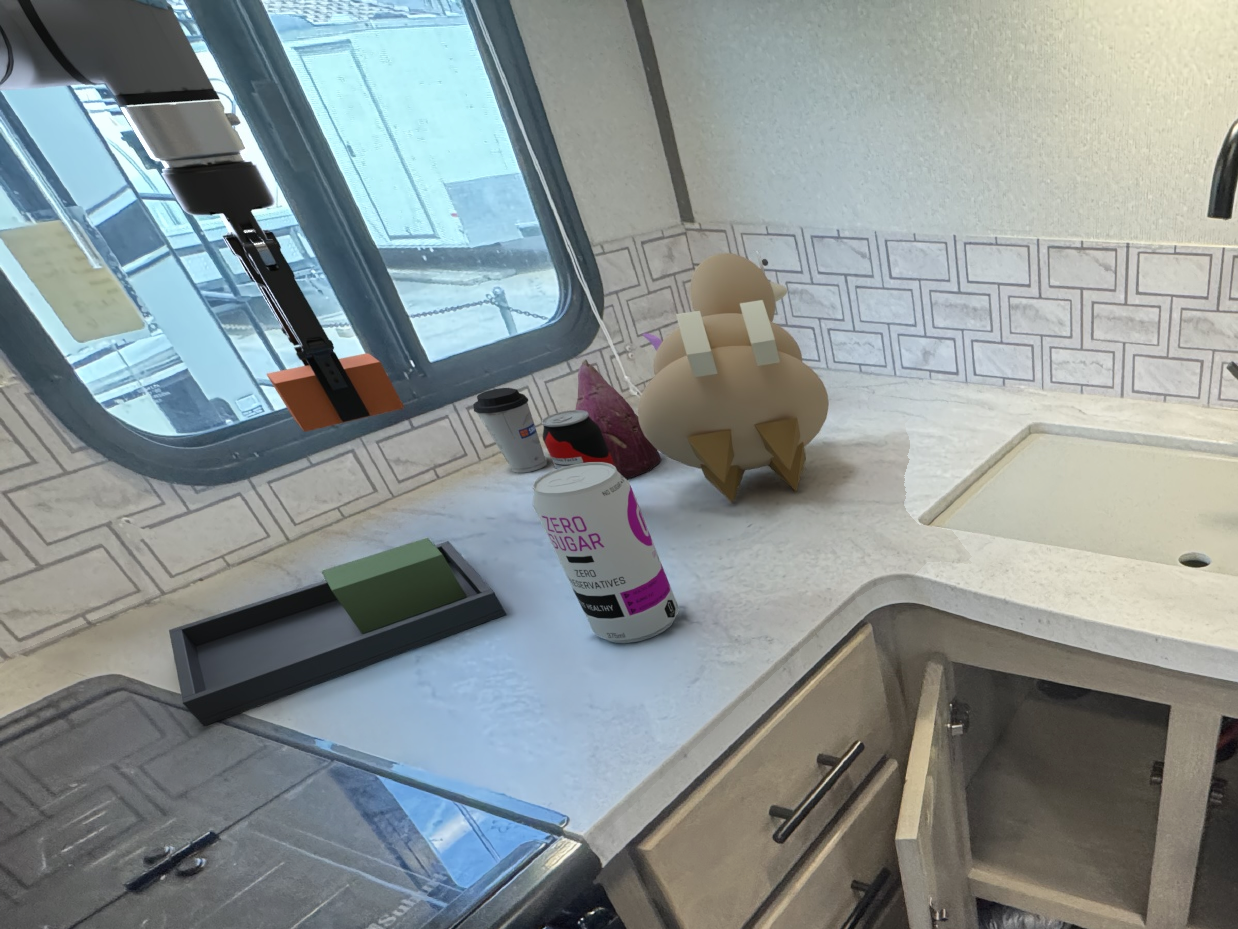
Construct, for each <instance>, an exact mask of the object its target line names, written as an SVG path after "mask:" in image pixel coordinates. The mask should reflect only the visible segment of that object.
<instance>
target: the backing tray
mask: <svg viewBox="0 0 1238 929" xmlns="http://www.w3.org/2000/svg"><path fill="white" fill-rule="evenodd" d="M434 545H435V546H436V547H437V549H438V550H439V551H440V552H441V553H442V555H443V556H444V558H445V560H446V561H447V563H448V565H449V567H450V568H451V570H452V572H453V573H454V575H455V577H456V579H457V580H458V582H459V584H460V586H461V587H462V589H463V591H464V593H465V594H466V596H467V597H466V598H464V599H461V600H458V601H455V602H452V603H449V604H447V605H444V606H441V607H438V608H435V609H432V610H429V611H427V612H424V613H421V614H418V615H415V616H412V617H410V618H407V619H404V620H401V621H398V622H395V623H393V624H390V625H387V626H384V627H381V628H378V629H376V630H373V631H370V632H367V633H364V634H362V633H361V632H360V631H359V629H358V628H357V626H356V625H355V623H354V622H353V621H352V619H351V618H350V616H349V615H348V613H347V612H346V610H345V609H344V608H343V606H342V605H341V603H340V602H339V600H338V599H337V597H336V596H335V595H334V593H333V592H332V590H331V588H330V587H329V585H328V583H327V581H326V579H324V580H320V581H318V582H315V583H312V584H308V585H306V586H302V587H299V588H296V589H293V590H290V591H286V592H284V593H280V594H277V595H274V596H271V597H267V598H264V599H261V600H258V601H255V602H251V603H249V604H245V605H243V606H240V607H236V608H233V609H230V610H227V611H224V612H221V613H218V614H215V615H211V616H208V617H205V618H202V619H199V620H195V621H193V622H189V623H186V624H182V625H180V626H176V627H173V628H171V629H168V633H169V638H170V643H171V648H172V653H173V659H174V664H175V669H176V670H175V671H176V674H177V679H178V680H177V681H178V685H179V691H180V696H181V703H182V704H183V706H184V707H185V708H186V709H187V710H188V711H189V713H191V714H192V715H193V716H194V717H195V719H196V720H197V721H198V722H199V723H200V724H201V725H202V726H203V727H205V726H209V725H211V724H213V723H216V722H219V721H221V720H225V719H227V718H231V717H233V716H236V715H239V714H241V713H243V712H247V711H249V710H252V709H255V708H256V707H260V706H262V705H265V704H268V703H270V702H273V701H276V700H278V699H281V698H284V697H287V696H290V695H293V694H295V693H298V692H300V691H303V690H305V689H308V688H312V687H314V686H317V685H320V684H322V683H325V682H328V681H331V680H333V679H335V678H338V677H341V676H344V675H346V674H348V673H351V672H354V671H357V670H361V669H362V668H365V667H368V666H371V665H373V664H376V663H378V662H382V661H384V660H387V659H390V658H392V657H396V656H397V655H400V654H403V653H407V652H409V651H411V650H414V649H418V648H419V647H423V646H425V645H427V644H431V643H433V642H436V641H438V640H439V641H440V640H441V639H444V638H446V637H450V636H452V635H455V634H457V633H460V632H463V631H466V630H468V629H471V628H473V627H476V626H479V625H482V624H484V623H487V622H490V621H493V620H495V619H498V618H501V617H504V616H506V615H507V612H506V611H505V609H504V607H503V605H502V604H501V602H500V600H499V598H498V597H497V595H496V592H495V591H494V590H493V589H492V587H490V586H489V584H488V583H487V582H486V581H485V580H484V579H483V577H481V575H479V573H478V572H477V571H476V570H475V569H474V568H473V567H472V565H470V563H469V562H468V561H467V560H466V559H465V558H464V556H463V555H462V554H461V553H460V552H459V551H458V550H457V549H456V547H455V546H453V545H452V543H451V542H450V541H449V540H447V541H443V542H441V543H437V544H434Z"/></svg>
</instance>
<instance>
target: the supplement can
mask: <svg viewBox="0 0 1238 929" xmlns="http://www.w3.org/2000/svg"><path fill="white" fill-rule="evenodd" d="M532 490H533V500H532V507H533V510H534V512H535V514H536V516H537V518H538V519H539V522H540V524H541V526H542V528H543V530H544V532H545V534H546V536H547V539H548V541H549V543H550V545H551V546H552V549H553V551H554V553H555V555H556V557H557V559H558V561H559V564H560V566H561V568H562V569H563V572H564V574H565V576H566V578H567V580H568V582H569V584H570V586H571V588H572V590H573V593H574V594H575V597H576V598H577V601H578V603H579V604H580V608H581V609H582V612H583V613H584V616H585V618H586V619H587V622H588V624H589V626H590V629H591V630H592V632H593V633H594V634H595V636H597V637H598V638H601V639H605V640H606V641H608V642H611V643H615V644H630V643H636V642H637V643H638V642H642V641H645V640H648V639H651V638H653V637H655V636H657V635H659V634H662V633H664V632H665V631H666V630H667V629H669V628H670V627H671V626H672V625H673V623H674V622H675V620H676V617H677V616H678V614H679V612H680V611H679V605H678V603H677V600H676V597H675V594H674V592H673V590H672V587H671V584H670V582H669V579H668V576H667V574H666V572H665V570H664V566H663V564H662V561H661V559H660V557H659V554H658V551H657V549H656V546H655V543H654V542H653V539H652V536H651V533H650V531H649V528H648V526H647V524H646V521H645V518H644V516H643V513H642V511H641V507H640V506H639V503H638V501H637V497H636V495H635V493H634V491H633V488H632V485H631V483H630V481H629V480H628V479H625V478H624V477H623V476H622V475H621V474H620V473H619V472H618V471H617V469H616V467H615V466H613V465H612V464H608V463H603V462H588V463H580V464H574V465H570V466H566V467H562V468H559V469H556V468H555V469H554V470H550V471H548V472H546V473H544V474H543V475H540V476H539V477H538V478H537V479H535V480H534V481H533V482H532Z"/></svg>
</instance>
